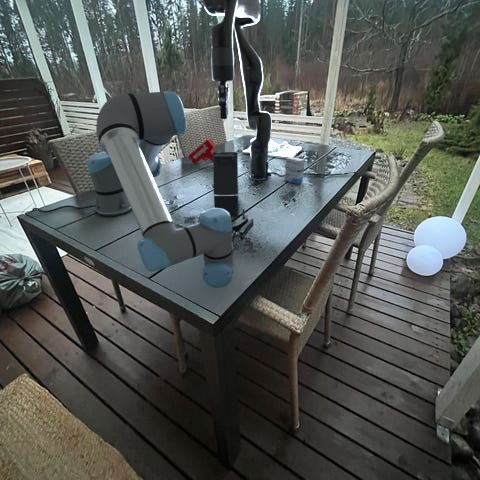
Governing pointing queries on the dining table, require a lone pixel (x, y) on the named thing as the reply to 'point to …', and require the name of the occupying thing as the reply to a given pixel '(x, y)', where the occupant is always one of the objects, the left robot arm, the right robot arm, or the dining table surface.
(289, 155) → the relief map
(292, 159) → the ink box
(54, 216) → the dining table surface
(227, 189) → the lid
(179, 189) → the dining table surface
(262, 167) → the right robot arm
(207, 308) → the dining table surface
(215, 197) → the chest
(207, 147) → the toy gun
